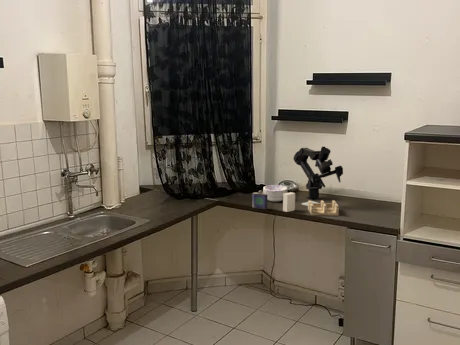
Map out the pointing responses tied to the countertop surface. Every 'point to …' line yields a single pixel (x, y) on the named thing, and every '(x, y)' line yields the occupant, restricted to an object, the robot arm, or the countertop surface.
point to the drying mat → (307, 203)
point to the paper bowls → (275, 192)
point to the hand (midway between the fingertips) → (332, 184)
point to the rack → (323, 208)
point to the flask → (259, 200)
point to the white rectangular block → (288, 202)
